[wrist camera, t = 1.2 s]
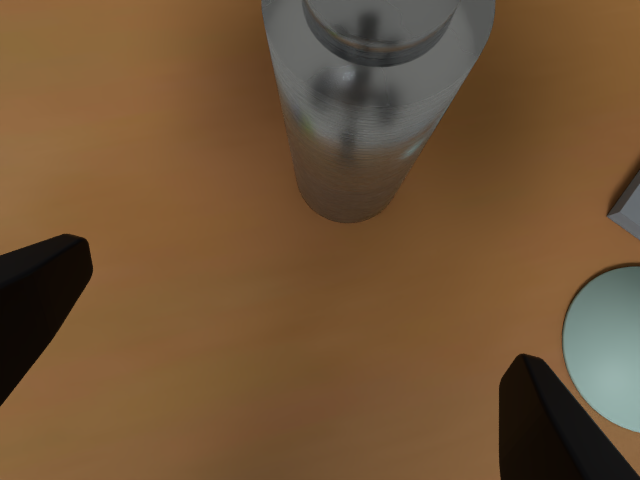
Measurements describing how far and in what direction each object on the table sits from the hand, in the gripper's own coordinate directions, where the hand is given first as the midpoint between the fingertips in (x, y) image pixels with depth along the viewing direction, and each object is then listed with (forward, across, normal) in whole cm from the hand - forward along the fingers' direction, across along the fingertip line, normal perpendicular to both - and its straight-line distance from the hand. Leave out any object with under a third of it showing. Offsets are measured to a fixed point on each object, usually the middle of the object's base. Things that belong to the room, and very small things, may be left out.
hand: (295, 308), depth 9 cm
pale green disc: (+11, -16, +8) cm, 21 cm away
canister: (+15, 0, +4) cm, 15 cm away
